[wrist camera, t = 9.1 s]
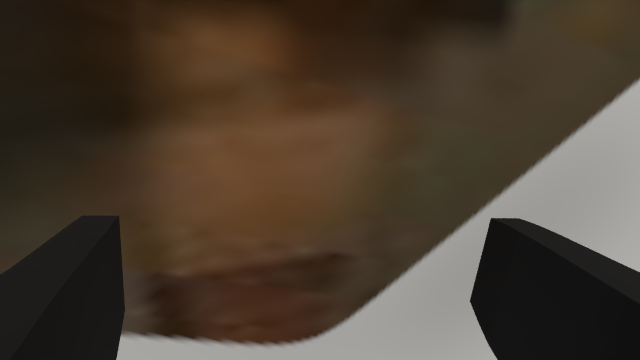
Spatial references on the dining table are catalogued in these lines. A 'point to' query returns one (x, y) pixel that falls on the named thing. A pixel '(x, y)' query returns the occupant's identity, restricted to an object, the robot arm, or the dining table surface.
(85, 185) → the dining table surface
